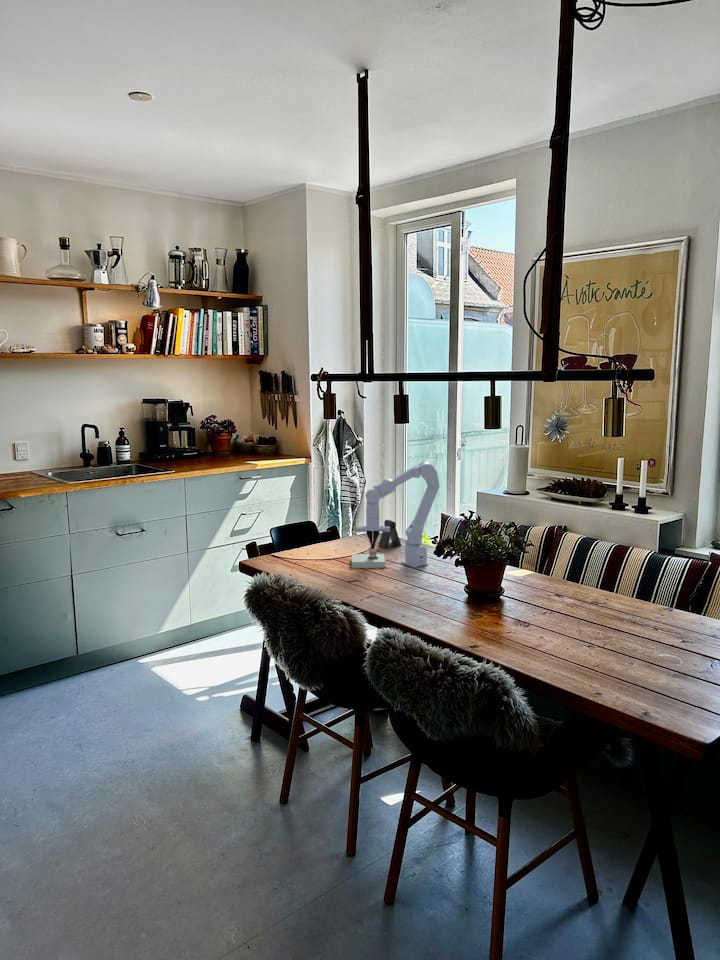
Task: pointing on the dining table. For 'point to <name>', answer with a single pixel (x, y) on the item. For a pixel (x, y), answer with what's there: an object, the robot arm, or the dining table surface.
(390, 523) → the phone stand
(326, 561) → the dining table surface
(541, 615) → the dining table surface
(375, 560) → the hole board
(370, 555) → the peg
